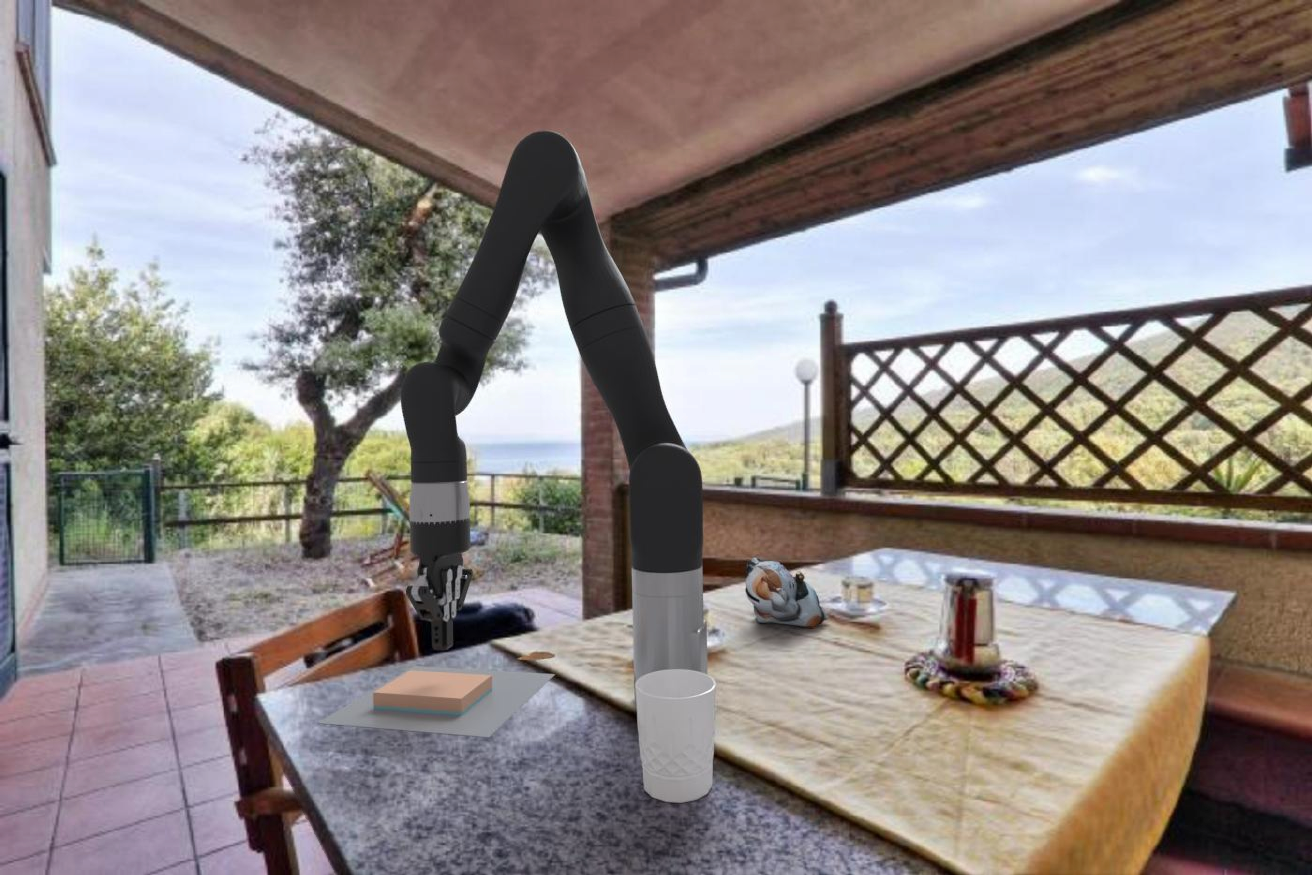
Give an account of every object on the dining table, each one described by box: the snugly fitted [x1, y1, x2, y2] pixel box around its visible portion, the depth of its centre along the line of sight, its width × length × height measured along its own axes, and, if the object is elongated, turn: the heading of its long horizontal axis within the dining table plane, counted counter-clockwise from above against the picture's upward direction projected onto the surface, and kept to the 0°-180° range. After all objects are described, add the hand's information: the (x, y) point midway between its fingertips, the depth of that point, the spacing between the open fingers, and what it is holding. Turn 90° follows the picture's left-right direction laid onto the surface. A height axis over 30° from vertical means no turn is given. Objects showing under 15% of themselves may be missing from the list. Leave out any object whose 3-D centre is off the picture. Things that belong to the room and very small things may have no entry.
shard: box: [516, 650, 556, 661], centre depth 100 cm, size 11×8×2 cm
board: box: [317, 665, 556, 738], centre depth 86 cm, size 22×20×1 cm
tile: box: [373, 670, 492, 715], centre depth 85 cm, size 12×2×8 cm
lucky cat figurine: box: [745, 557, 829, 629], centre depth 121 cm, size 15×12×14 cm
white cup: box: [635, 669, 717, 804], centre depth 65 cm, size 8×8×10 cm
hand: (442, 648), depth 87 cm, fingers closed
